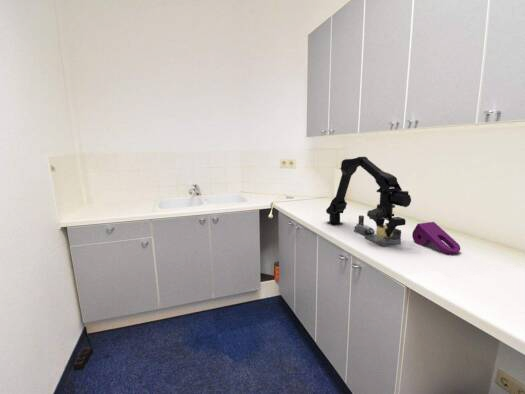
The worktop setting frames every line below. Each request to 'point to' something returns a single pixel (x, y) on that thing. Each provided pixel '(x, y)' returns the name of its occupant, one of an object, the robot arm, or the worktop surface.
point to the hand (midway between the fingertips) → (384, 234)
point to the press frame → (382, 242)
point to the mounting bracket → (435, 238)
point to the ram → (361, 225)
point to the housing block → (382, 232)
